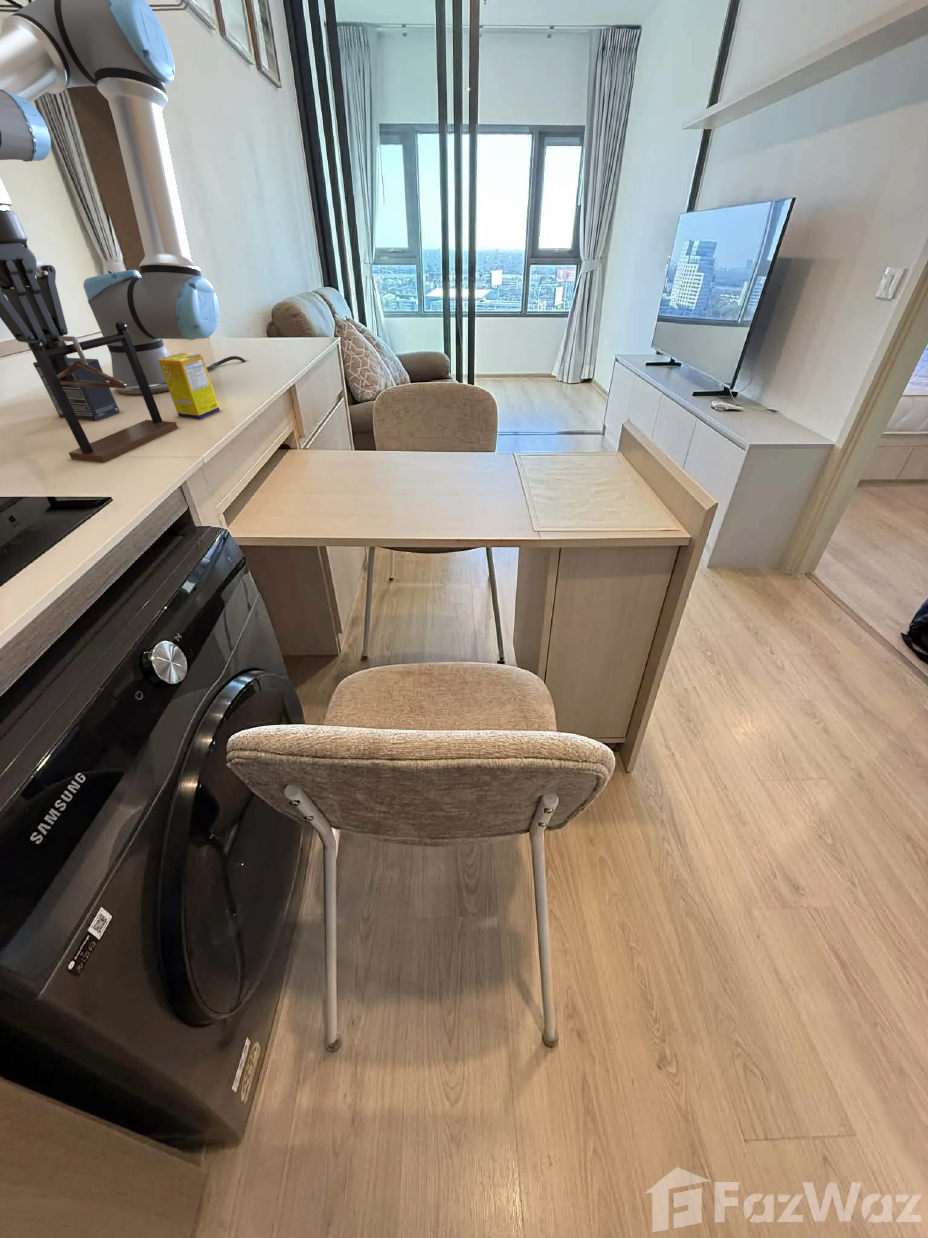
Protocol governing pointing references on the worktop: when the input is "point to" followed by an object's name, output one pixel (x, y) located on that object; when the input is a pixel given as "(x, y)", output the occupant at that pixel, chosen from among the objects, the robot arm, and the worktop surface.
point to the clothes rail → (87, 451)
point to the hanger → (84, 365)
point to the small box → (85, 393)
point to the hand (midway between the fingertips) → (66, 385)
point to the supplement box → (189, 385)
